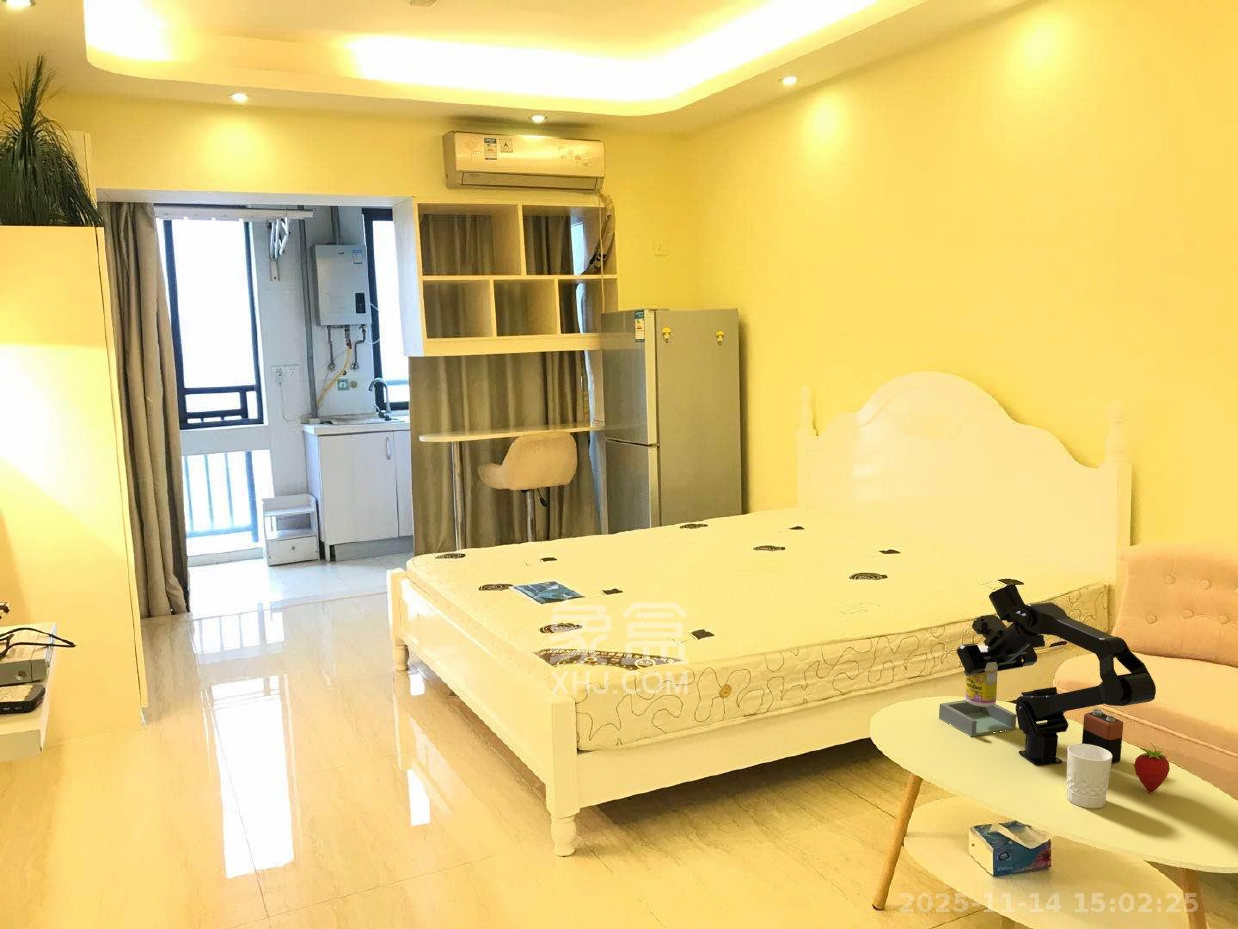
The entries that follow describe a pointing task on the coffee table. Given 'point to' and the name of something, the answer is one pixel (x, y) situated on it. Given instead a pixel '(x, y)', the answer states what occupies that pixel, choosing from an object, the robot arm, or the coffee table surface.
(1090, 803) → the white cup
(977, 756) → the coffee table surface
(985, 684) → the supplement bottle
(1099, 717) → the battery
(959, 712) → the grey tray
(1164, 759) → the strawberry
